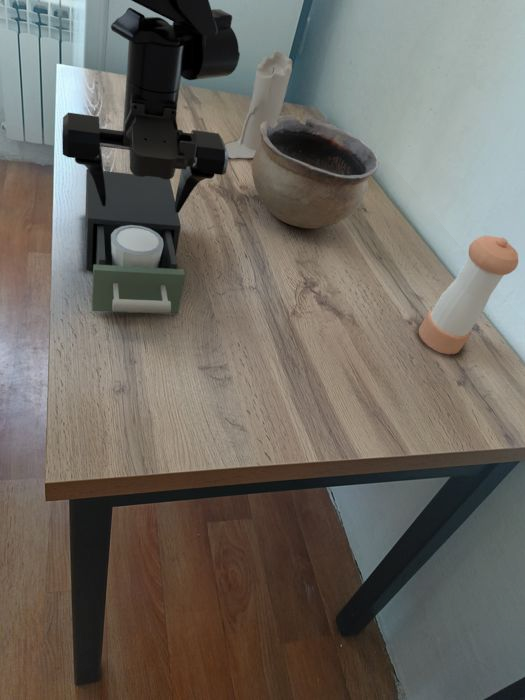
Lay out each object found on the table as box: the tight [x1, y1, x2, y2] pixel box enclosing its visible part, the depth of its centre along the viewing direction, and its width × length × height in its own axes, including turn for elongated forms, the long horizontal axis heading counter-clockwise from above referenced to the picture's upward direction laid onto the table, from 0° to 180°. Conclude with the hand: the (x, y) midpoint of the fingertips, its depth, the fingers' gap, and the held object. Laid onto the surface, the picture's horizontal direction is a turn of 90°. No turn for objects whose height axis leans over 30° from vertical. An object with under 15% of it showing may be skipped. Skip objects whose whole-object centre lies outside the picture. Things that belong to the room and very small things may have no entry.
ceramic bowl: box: [251, 114, 380, 229], centre depth 100 cm, size 22×22×15 cm
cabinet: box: [84, 168, 182, 271], centre depth 82 cm, size 14×13×9 cm
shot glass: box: [111, 225, 164, 268], centre depth 73 cm, size 7×7×7 cm
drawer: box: [91, 224, 186, 315], centre depth 73 cm, size 17×11×7 cm, turn 14°
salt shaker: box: [418, 235, 519, 355], centre depth 81 cm, size 7×7×19 cm
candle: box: [225, 49, 293, 159], centre depth 114 cm, size 7×14×20 cm, turn 138°
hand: (141, 207), depth 69 cm, fingers open, 9 cm apart
